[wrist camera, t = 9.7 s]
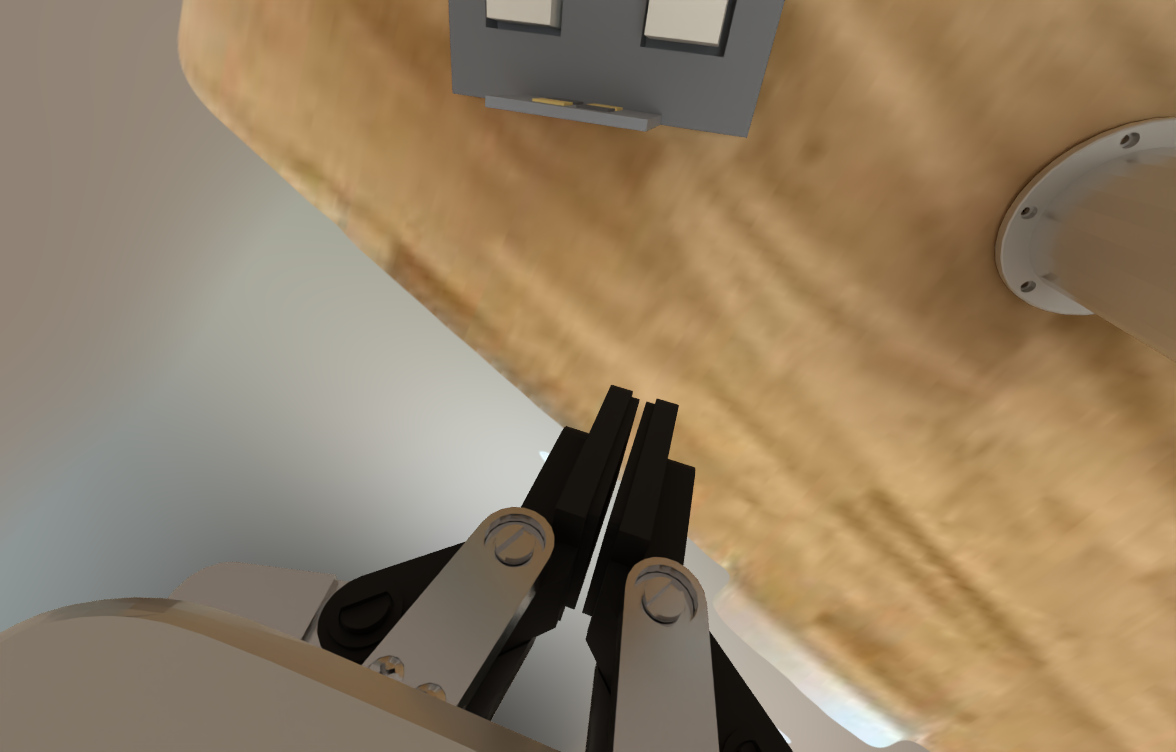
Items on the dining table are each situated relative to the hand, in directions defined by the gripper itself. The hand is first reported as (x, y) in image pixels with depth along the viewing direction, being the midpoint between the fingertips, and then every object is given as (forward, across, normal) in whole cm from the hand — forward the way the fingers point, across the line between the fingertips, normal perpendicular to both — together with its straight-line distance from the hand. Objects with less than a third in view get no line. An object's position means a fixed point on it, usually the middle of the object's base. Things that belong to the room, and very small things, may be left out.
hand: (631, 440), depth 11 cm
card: (+28, +10, -5) cm, 30 cm away
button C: (+28, +5, -12) cm, 31 cm away
